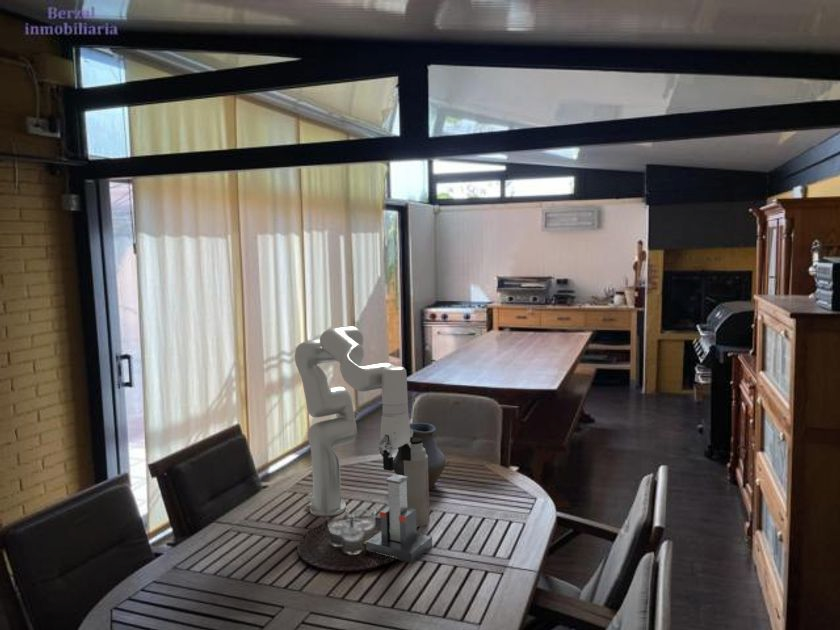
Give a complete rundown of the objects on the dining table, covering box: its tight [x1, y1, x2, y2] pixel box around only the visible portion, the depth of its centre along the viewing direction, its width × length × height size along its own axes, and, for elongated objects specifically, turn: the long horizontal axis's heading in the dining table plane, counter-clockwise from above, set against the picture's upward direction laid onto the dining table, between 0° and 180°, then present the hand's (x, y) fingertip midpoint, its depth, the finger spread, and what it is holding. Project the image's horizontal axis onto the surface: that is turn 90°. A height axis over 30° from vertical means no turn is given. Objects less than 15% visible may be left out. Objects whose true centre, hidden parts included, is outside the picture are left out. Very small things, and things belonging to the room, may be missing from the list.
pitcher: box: [393, 422, 447, 490], centre depth 237 cm, size 21×22×25 cm
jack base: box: [365, 505, 433, 564], centre depth 189 cm, size 16×12×12 cm
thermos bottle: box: [404, 438, 431, 528], centre depth 207 cm, size 8×8×28 cm
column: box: [385, 473, 408, 542], centre depth 189 cm, size 5×5×19 cm
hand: (397, 465), depth 187 cm, fingers open, 9 cm apart
